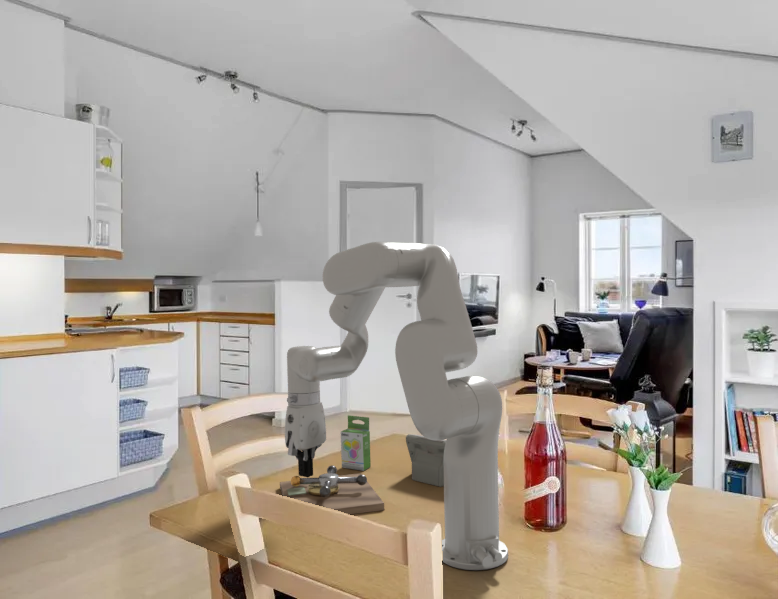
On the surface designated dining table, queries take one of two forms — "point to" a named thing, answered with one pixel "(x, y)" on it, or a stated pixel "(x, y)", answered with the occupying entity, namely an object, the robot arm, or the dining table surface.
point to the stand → (339, 497)
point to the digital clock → (426, 459)
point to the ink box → (356, 444)
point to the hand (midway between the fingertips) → (305, 475)
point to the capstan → (327, 482)
